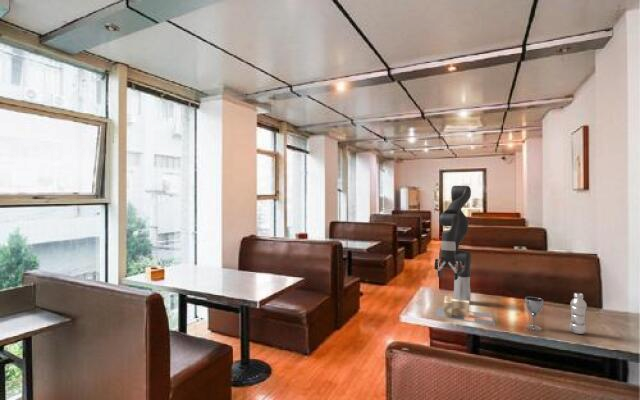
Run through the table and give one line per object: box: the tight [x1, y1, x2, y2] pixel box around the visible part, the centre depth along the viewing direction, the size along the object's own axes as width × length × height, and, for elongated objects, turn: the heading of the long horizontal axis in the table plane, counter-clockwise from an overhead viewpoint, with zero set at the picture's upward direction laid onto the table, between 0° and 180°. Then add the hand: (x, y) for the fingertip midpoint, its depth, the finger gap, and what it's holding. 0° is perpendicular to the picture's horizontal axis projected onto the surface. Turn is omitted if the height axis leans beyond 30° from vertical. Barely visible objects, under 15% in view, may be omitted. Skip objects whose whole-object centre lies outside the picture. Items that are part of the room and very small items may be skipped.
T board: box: [434, 306, 497, 326], centre depth 187 cm, size 30×18×1 cm, turn 67°
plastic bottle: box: [568, 292, 587, 335], centre depth 167 cm, size 6×7×20 cm
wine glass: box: [524, 296, 544, 331], centre depth 174 cm, size 8×8×15 cm
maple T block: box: [443, 295, 470, 318], centre depth 189 cm, size 13×14×8 cm
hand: (447, 278), depth 184 cm, fingers open, 8 cm apart
